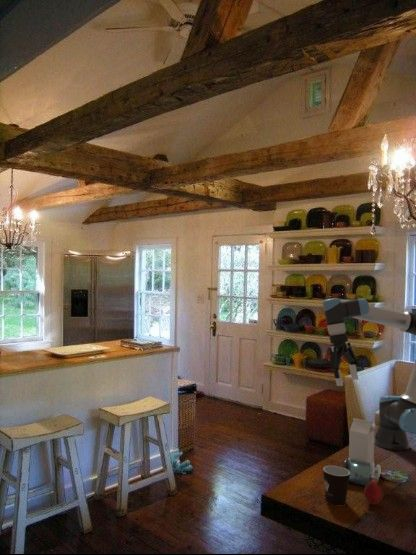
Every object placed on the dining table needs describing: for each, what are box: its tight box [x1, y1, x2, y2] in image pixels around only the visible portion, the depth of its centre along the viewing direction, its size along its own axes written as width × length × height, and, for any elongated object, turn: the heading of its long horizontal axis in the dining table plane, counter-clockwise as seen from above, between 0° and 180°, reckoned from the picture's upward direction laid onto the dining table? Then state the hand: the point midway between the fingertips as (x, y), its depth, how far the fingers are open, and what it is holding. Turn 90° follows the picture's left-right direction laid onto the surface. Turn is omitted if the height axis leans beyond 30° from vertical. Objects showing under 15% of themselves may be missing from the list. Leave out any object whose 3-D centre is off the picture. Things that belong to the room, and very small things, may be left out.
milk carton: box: [348, 417, 375, 471], centre depth 170 cm, size 7×7×19 cm
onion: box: [363, 480, 384, 505], centre depth 145 cm, size 6×6×8 cm
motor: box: [342, 457, 382, 486], centre depth 167 cm, size 19×12×8 cm, turn 152°
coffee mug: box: [322, 465, 350, 506], centre depth 148 cm, size 12×9×10 cm
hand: (347, 382), depth 190 cm, fingers open, 13 cm apart
